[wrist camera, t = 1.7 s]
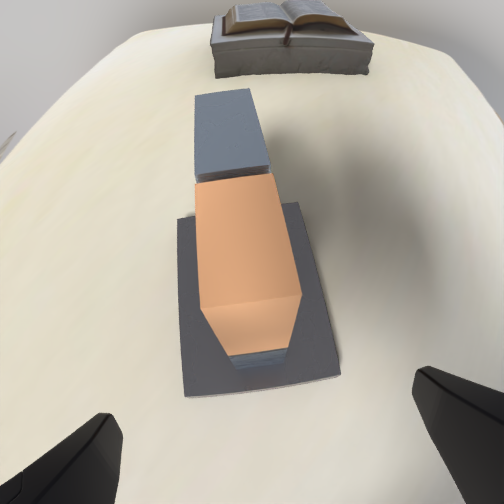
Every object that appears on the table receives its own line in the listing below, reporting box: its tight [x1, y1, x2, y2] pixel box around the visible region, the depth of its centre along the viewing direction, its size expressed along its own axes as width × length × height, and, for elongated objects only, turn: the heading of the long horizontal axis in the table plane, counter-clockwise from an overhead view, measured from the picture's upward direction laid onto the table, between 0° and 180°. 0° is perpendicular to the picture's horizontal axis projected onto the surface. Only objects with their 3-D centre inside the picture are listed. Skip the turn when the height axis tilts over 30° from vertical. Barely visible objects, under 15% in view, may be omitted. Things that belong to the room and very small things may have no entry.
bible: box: [210, 0, 374, 79], centre depth 41 cm, size 23×27×10 cm
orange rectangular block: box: [195, 173, 302, 357], centre depth 13 cm, size 5×3×7 cm, turn 8°
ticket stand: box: [177, 88, 341, 398], centre depth 17 cm, size 14×10×12 cm
